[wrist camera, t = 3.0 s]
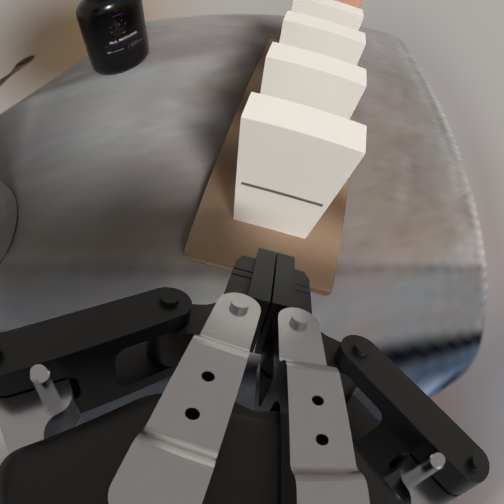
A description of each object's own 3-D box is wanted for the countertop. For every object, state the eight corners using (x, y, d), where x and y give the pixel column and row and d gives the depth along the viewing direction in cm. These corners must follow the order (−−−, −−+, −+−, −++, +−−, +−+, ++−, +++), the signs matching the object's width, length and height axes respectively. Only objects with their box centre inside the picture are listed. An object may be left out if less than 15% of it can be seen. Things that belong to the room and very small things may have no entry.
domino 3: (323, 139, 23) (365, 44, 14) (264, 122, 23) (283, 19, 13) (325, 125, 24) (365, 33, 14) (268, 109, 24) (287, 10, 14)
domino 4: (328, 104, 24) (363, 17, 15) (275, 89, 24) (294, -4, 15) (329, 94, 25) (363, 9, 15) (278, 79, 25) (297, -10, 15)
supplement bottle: (130, 78, 25) (106, -17, 14) (82, 75, 25) (52, -7, 14) (160, 44, 27) (150, -42, 16) (114, 42, 28) (97, -35, 16)
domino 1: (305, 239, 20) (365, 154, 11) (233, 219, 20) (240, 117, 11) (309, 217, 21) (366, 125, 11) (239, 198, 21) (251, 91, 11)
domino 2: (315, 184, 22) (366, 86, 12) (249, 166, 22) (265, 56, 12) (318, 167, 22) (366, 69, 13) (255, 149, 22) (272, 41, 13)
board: (325, 295, 20) (331, 292, 19) (185, 258, 20) (182, 252, 19) (353, 69, 28) (356, 61, 27) (268, 45, 28) (269, 37, 27)
